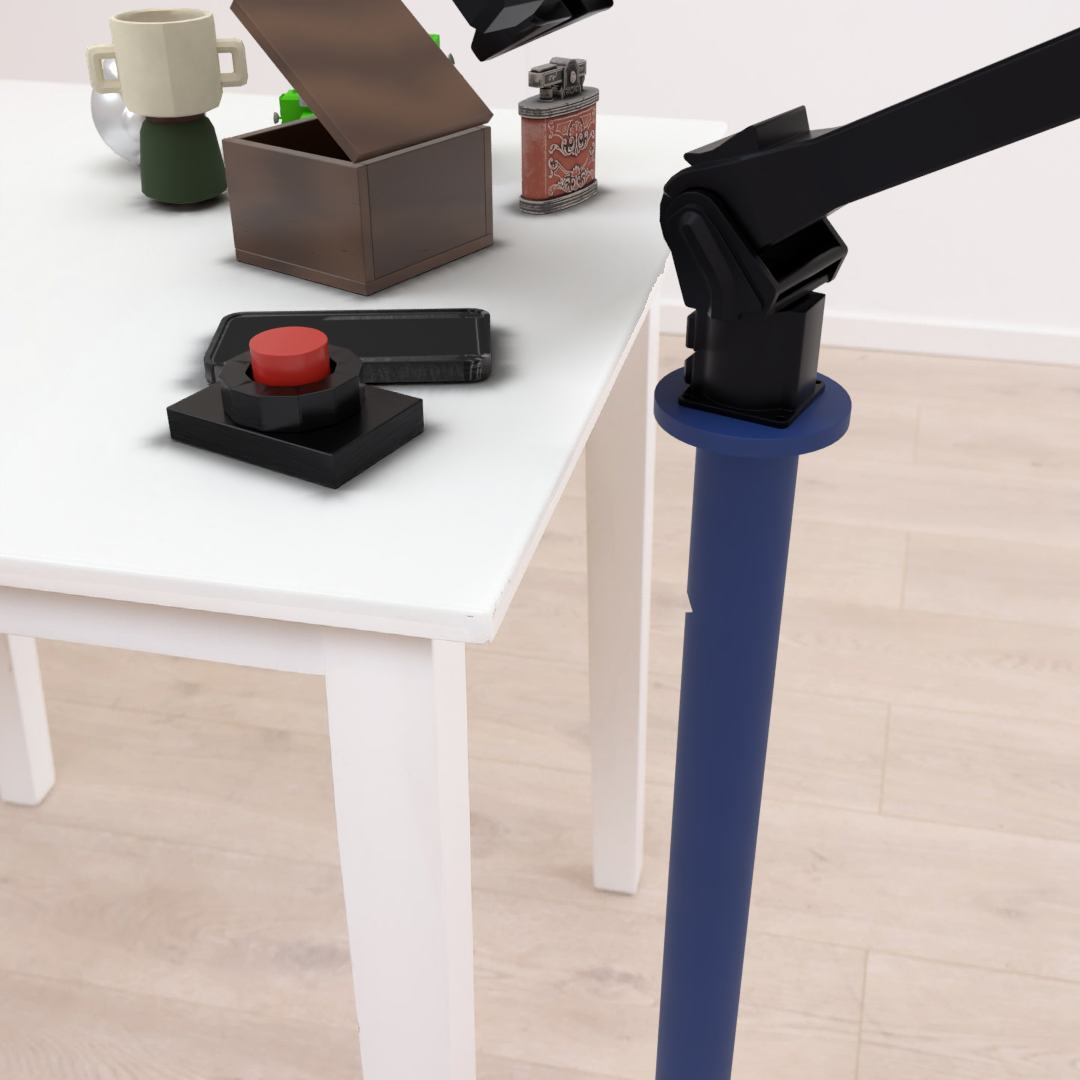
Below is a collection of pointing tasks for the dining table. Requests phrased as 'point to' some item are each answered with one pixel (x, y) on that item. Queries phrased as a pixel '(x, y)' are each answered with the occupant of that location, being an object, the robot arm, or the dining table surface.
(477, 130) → the chest
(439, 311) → the phone
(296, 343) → the button
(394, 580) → the dining table surface
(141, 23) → the cream and green trophy
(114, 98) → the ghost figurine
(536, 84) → the lighter
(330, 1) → the lid
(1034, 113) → the robot arm
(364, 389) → the button base
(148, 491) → the dining table surface
